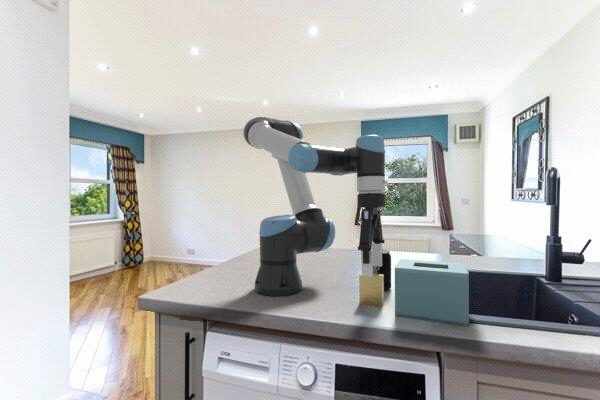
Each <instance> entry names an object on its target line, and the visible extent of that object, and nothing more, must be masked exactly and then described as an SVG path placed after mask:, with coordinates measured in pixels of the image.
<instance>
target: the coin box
mask: <svg viewBox="0 0 600 400" xmlns="http://www.w3.org/2000/svg"><path fill="white" fill-rule="evenodd" d="M467 268H468V267H467V265H466V263H463V262H448V261H435V260H434V261H433V260H423V259H422V260H419V259H418V260H417V259H405V258H400V259H399V260H398V261H397V264H396V265H395V266H394V316H395V317H402V318H409V319H415V320H416V319H417V320H423V321H429V322H437V323H444V324H450V325H451V324H452V325H458V326H464V327H469V326H470V290H469V288H470V285H469V284H470V282H469V281H470V280H469V279H470V276H469V274H470V273H469V271H468V269H467Z"/></svg>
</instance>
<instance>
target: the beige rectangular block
mask: <svg viewBox="0 0 600 400" xmlns="http://www.w3.org/2000/svg"><path fill="white" fill-rule="evenodd" d="M358 280H359V281H358V282H359V286H358V287H359V293H358V294H359V299H358V300H359V305H365V306H372V307H379V308H383V305H385V303H384V302H385V301H384V298H385V297H384V296H385V295H384V294H385V293H384V292H385V291H384V274H373V277H368V276H362V272H360V273H359V279H358Z"/></svg>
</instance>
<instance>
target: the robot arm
mask: <svg viewBox="0 0 600 400" xmlns="http://www.w3.org/2000/svg"><path fill="white" fill-rule="evenodd" d="M243 138H244V140H245V142H246V143H247V145H249V146H251V147H253V148H254V149H258V150H264V151H267V152H268V153H270V154H271V156H272V158H273V159H275V160H277V164H278V166H279V171H280V174H281V177H282V181H283V183H284V187H285V190H286V193H287V198H288V201H289V205H290V207H291V211H292V214H283V215H273V216H270V217H265V218H264V219H262V220H261V222H260V223H259V232H258V234H259V269H258V271H257V275H256V278H255V280H254V291H255V292H256V293H257V294H260V295H262V296H271V297H282V296H290V295H294V294H297V293H300V292H301V291H302V290H303V281H302V277H301V275H300V272H299V267H298V265H297V255H300V254H306V253H307V254H308V253H317V252H321V251H326V250H327V249H329V248H330V247H331V246H332V245H333V243H334V240H335V237H336V227H335V224H334V221H333V220H332V219H331V218H329V217H327V216H324V213H323V210H322V208H321V207H318V206H316V202H315V199H314V195H313V192H312V190H311V187H310V185H309V181H308V178H307V175H306V174H307V173H315V174H330V175H331V176H344V175H351V174H356V192H358V193H359V194H357V195H356V197H357V201H356V202H357V203H356V204H357V208H364V210H361V213H360V214H361V221H360V232H359V244H358V246H357V251H360V252H361V253H360V256H361V259H360V261H361V273H362V276H368V277H373V266H382V250H383V244H385V239H384V236H383V228H382V227H383V226H382V218H381V213H382V212H381V209H378V208H384V207H386V205H387V204H386V193H384V192H385V191H386V184H388V180H387V179H386V178H385V177H386V173H385V171H386V170H385V164H386V163H385V161H386V159H385V158H386V151H385V139H384V137H382V136H381V135H377V134H367V135H362V136H359V137H358V138H356V140H355V141H356V142H355V146H353V147H349V148H339V147H338V148H337V147H331V146H330V147H329V146H321V145H316V144H312V143H310V142H307V141H305V140H303V138H304V134H303V130H302V128H301V126H300V125H299V124H298V123H296V122H293V121H291V120H281V119H276V118H270V117H265V116H257V117H254V118H251V119H249V120H248V121H247V122H246V123H245V125H244V128H243Z"/></svg>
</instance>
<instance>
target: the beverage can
mask: <svg viewBox="0 0 600 400" xmlns="http://www.w3.org/2000/svg"><path fill="white" fill-rule="evenodd" d="M373 274H384V292H386V291H390V289H391V288H392V255H391V254H390V251H389V250H386V249H382V266H373Z"/></svg>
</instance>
